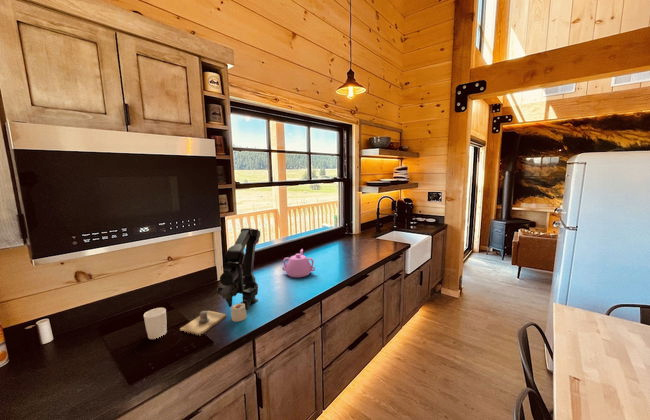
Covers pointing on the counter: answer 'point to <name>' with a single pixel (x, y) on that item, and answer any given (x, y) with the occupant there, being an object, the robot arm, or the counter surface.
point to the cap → (238, 312)
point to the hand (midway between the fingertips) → (238, 308)
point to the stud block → (203, 322)
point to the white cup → (155, 322)
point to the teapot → (298, 265)
